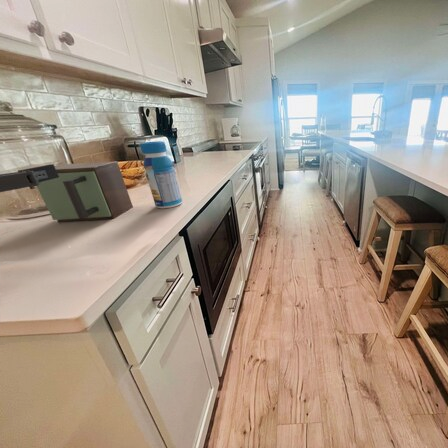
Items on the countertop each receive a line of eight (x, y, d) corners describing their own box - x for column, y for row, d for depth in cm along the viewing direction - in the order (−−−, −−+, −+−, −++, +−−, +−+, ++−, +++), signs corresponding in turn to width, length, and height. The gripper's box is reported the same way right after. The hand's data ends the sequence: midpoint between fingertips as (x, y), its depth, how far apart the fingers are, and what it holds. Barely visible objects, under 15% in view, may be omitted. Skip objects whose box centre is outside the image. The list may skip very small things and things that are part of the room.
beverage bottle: (177, 208, 77) (159, 142, 69) (150, 210, 77) (129, 144, 68) (186, 200, 85) (172, 140, 76) (162, 201, 84) (145, 141, 76)
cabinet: (57, 221, 70) (32, 170, 64) (83, 210, 80) (63, 164, 73) (113, 218, 71) (93, 167, 65) (133, 207, 80) (117, 161, 74)
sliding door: (33, 228, 64) (7, 180, 58) (55, 219, 70) (33, 174, 64) (95, 224, 64) (75, 176, 59) (111, 215, 70) (94, 171, 65)
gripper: (-227, 240, 31) (-32, 194, 51) (-27, 227, 32) (89, 186, 52) (-287, 184, 28) (-55, 157, 48) (-64, 171, 29) (74, 150, 49)
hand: (20, 172), depth 50 cm, fingers open, 13 cm apart
